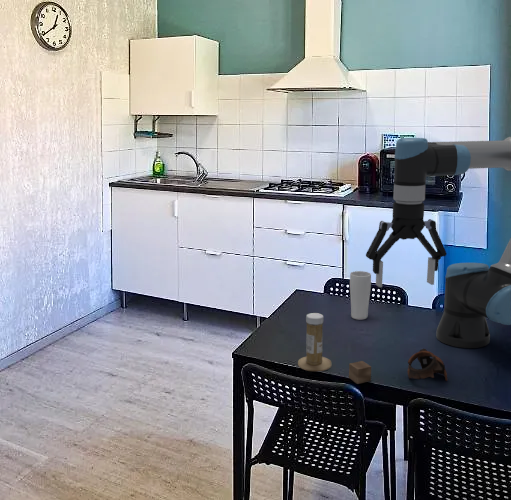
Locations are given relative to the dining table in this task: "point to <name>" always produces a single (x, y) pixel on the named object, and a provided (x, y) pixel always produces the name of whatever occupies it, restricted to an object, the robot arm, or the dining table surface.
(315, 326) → the sprinkles bottle
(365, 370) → the walnut block
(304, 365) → the cork coaster
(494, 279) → the robot arm
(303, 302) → the dining table surface
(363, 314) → the drinking glass
